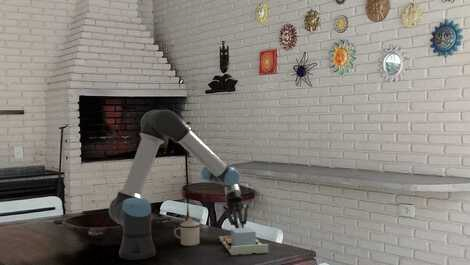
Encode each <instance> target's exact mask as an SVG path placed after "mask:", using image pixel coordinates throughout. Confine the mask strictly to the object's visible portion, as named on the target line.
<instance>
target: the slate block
mask: <svg viewBox="0 0 470 265" xmlns="http://www.w3.org/2000/svg"><path fill="white" fill-rule="evenodd" d="M230 230H231V232H230V233H231V234H230V236H231V243H230V244H231V246H242V245H257V244H256V239H257V237H256V231H255V230H254V229H253V228H252V227H244V228H235V227H234V228H231V229H230Z"/></svg>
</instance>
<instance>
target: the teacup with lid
mask: <svg viewBox="0 0 470 265" xmlns="http://www.w3.org/2000/svg"><path fill="white" fill-rule="evenodd" d="M177 227H178V228H176V227H175V228H174V231H173V232H174V234H173V235H174V236H175V237H176V238H177V239H180V244H181V245H183V246H187V247H188V246H189V247H190V246H198V245H199V244H200V227H201V224H200V223H199V222H197V221H195V220H193V218H191V217H190V218H188V220H187V221H185V220H184V222H181V223H180V224H179V226H177ZM177 230H180V235H178V234H177Z"/></svg>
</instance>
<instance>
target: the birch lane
mask: <svg viewBox="0 0 470 265" xmlns="http://www.w3.org/2000/svg"><path fill="white" fill-rule="evenodd" d="M218 239H220V240H219V241H220V242H221V243H222V245H223V246H224V248H226V250H227V251H228V252H229V253H230V255H231V246H230V245H229V243H227V242H226V240H225V239H231V235H224V236H223V235H221V236H218ZM256 243H257V244H262V243H261V242H260V241H259V240H258V239H257V238H256ZM257 244H256V245H257Z"/></svg>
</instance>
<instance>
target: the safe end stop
mask: <svg viewBox="0 0 470 265" xmlns="http://www.w3.org/2000/svg"><path fill="white" fill-rule="evenodd" d="M230 248H231V254H230V255H231V256H240V255H239V254H241V255H252V253H256V254H265V253H266V254H268V253H269V244H268V243H261V244H256V245H242V246H232V245H231V246H230Z"/></svg>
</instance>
